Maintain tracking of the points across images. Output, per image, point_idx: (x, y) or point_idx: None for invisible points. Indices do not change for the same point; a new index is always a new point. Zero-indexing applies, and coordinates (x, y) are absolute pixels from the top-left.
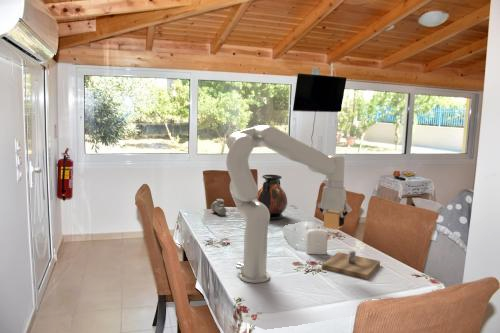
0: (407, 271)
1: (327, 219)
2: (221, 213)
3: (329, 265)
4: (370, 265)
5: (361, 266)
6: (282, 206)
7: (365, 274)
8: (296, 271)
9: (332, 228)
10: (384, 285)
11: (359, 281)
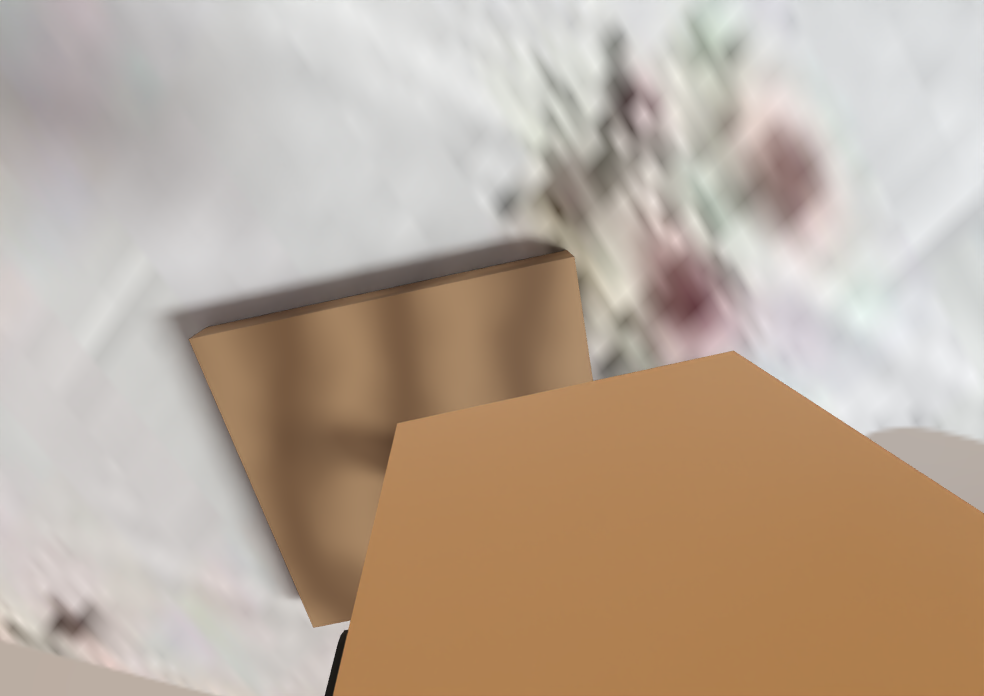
0: (149, 636)
1: (748, 481)
2: None
3: (513, 280)
4: (301, 516)
5: (331, 453)
6: None
7: (203, 336)
8: (695, 10)
9: (518, 399)
10: (61, 329)
11: (216, 252)
